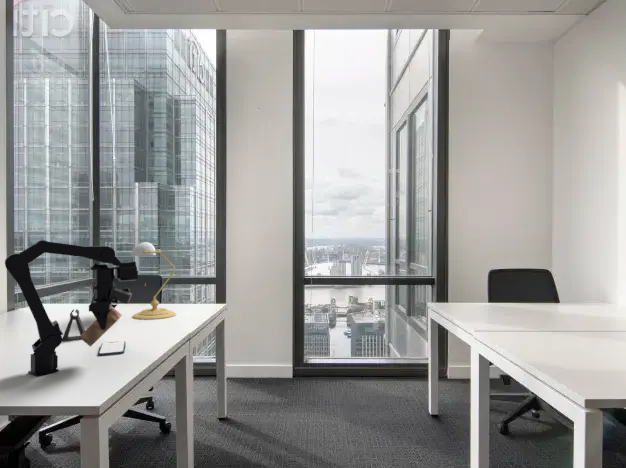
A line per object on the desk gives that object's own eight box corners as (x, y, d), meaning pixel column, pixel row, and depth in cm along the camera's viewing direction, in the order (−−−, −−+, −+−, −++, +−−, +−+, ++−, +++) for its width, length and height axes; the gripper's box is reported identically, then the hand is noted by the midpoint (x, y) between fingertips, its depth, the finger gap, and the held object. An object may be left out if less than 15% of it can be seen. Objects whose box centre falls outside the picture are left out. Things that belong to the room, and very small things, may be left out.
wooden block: (78, 336, 144) (108, 308, 147) (82, 333, 149) (111, 305, 151) (90, 346, 145) (119, 318, 147) (93, 343, 150) (122, 315, 152)
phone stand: (87, 336, 188) (87, 308, 188) (86, 339, 182) (86, 310, 182) (63, 338, 184) (63, 309, 184) (61, 341, 179) (61, 312, 179)
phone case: (124, 355, 159) (125, 344, 174) (124, 351, 159) (125, 340, 174) (97, 358, 156) (101, 346, 171) (97, 353, 156) (101, 342, 171)
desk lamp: (132, 312, 245) (132, 241, 246) (174, 309, 253) (174, 241, 254) (129, 322, 216) (129, 242, 217) (177, 319, 225) (177, 242, 225)
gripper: (125, 284, 142) (125, 332, 142) (134, 279, 160) (134, 321, 160) (88, 285, 139) (88, 334, 139) (101, 279, 157) (101, 322, 157)
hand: (105, 327), depth 149 cm, fingers closed on wooden block, 5 cm apart
